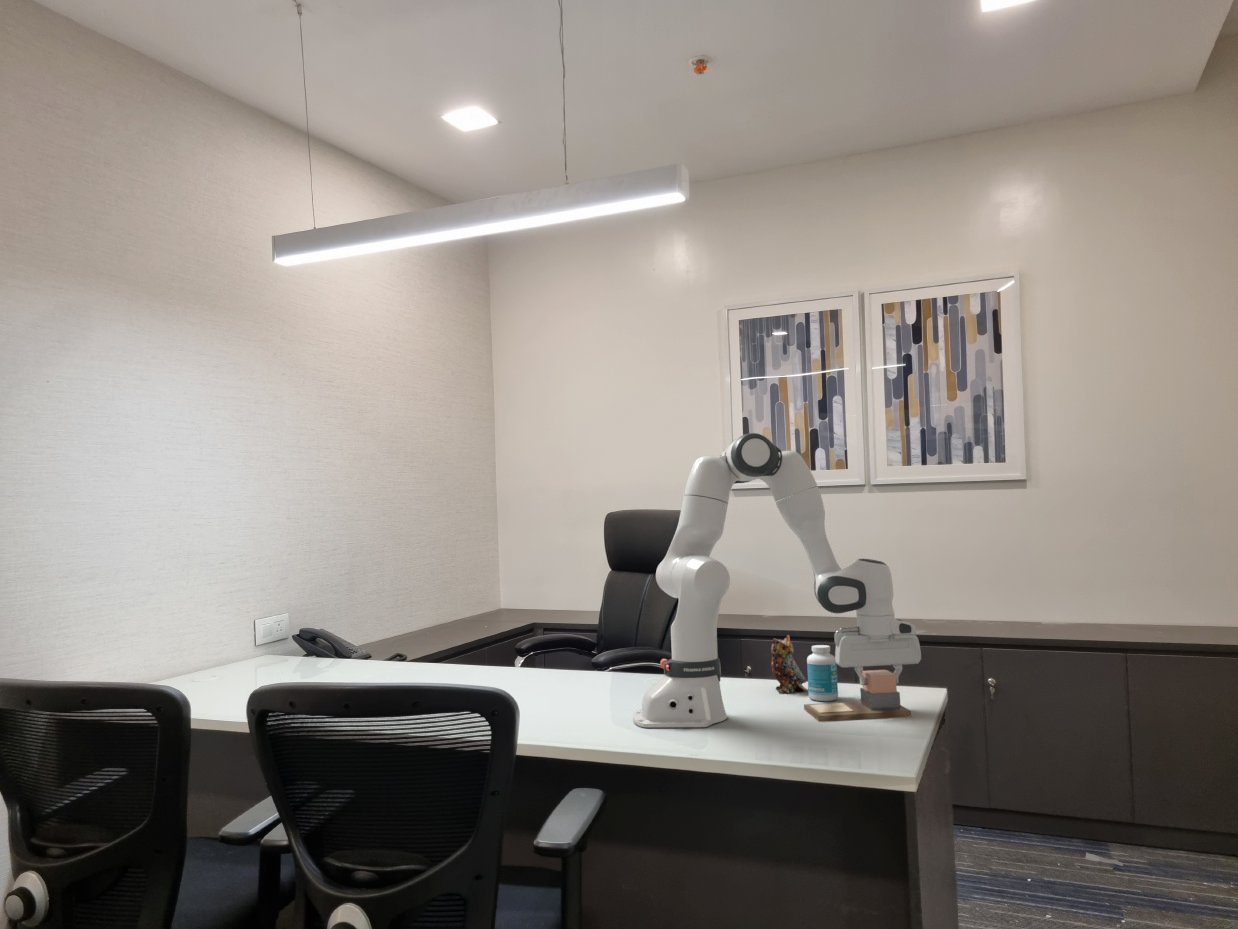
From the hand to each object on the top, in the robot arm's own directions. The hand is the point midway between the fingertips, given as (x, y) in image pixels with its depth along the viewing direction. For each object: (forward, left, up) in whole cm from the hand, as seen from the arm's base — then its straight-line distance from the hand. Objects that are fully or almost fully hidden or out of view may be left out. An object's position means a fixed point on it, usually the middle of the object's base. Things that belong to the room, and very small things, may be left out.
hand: (879, 684), depth 200 cm
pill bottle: (-9, +16, -7) cm, 20 cm away
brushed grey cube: (0, 0, -5) cm, 5 cm away
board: (-6, 0, -6) cm, 9 cm away
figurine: (-15, +27, -7) cm, 32 cm away
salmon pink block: (0, 0, -1) cm, 1 cm away
